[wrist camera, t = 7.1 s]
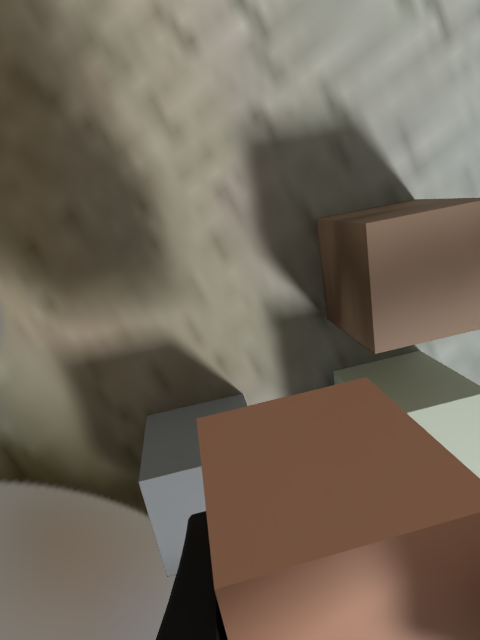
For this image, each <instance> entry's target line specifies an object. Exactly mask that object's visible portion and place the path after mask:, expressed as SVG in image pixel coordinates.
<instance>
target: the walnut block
mask: <svg viewBox="0 0 480 640" xmlns="http://www.w3.org/2000/svg"><path fill="white" fill-rule="evenodd" d="M316 221H317V230H318V239H319V248H320V257H321V266H322V275H323V284H324V293H325V302H326V311H327V319H328V320H330V321H331V322H332V323H334V324H335V325H337V326H338V327H339V328H341V329H342V330H343V331H345V332H346V333H347V334H349V335H350V336H351V337H353V338H354V339H356V340H357V341H358V342H360V343H361V344H362V345H364V346H365V347H366V348H368V349H369V350H371V351H372V352H373V353H375V354H377V353H382V352H386V351H390V350H394V349H398V348H402V347H407V346H411V345H415V344H419V343H423V342H428V341H432V340H436V339H440V338H444V337H448V336H453V335H457V334H461V333H465V332H469V331H474V330H478V329H480V198H457V199H418V200H410V201H405V202H400V203H395V204H390V205H385V206H380V207H375V208H370V209H364V210H359V211H354V212H349V213H344V214H339V215H334V216H329V217H324V218H319V219H316Z"/></svg>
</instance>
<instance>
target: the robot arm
mask: <svg viewBox="0 0 480 640" xmlns="http://www.w3.org/2000/svg"><path fill="white" fill-rule="evenodd" d="M156 640H228V638H227V635H226V631H225V627H224V623H223V620H222V616H221V612H220V609H219V605H218V601H217V597H216V594H215V590H214V581H213V571H212V562H211V552H210V543H209V533H208V524H207V514H206V511H203V512H200V513H196V514H192V515H191V516H190V517H189V519H188V524H187V531H186V536H185V541H184V546H183V551H182V555H181V559H180V563H179V567H178V571H177V574H176V578H175V581H174V585H173V588H172V592H171V596H170V599H169V602H168V605H167V608H166V611H165V614H164V617H163V620H162V623H161V626H160V629H159V632H158V635H157V638H156Z"/></svg>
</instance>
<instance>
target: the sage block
mask: <svg viewBox="0 0 480 640" xmlns="http://www.w3.org/2000/svg"><path fill="white" fill-rule="evenodd" d="M333 374H334V383H335V385H336V384H340V383H344V382H348V381H353V380H357V379H361V378H365V377H367V378H368V379H369V380H370V381H371V382H372V383H373V384H374V385H375V386H377V387H378V388H379V389H380V390H381V391H382V392H383V393H384V394H386V395H387V396H388V397H389V398H390V399H391V400H392V401H393V402H395V403H396V404H397V405H398V406H399V407H400V408H401V409H402V410H404V411H405V412H406V413H407V414H408V415H409V416H410V417H411V418H412V419H414V420H415V421H416V422H417V423H418V424H419V425H420V426H421V427H423V428H424V429H425V430H426V431H427V432H428V433H429V434H430V435H432V436H433V437H434V438H435V439H436V440H437V441H438V442H439V443H441V444H442V445H443V446H444V447H445V448H446V449H447V450H448V451H450V452H451V453H452V454H453V455H454V456H455V457H456V458H457V459H458V460H460V461H461V462H462V463H463V464H464V465H465V466H466V467H467V468H469V469H470V470H471V471H472V472H473V473H474V474H475V475H476V476H478V477H479V478H480V386H479V385H477V384H476V383H474V382H472V381H470V380H469V379H467V378H465V377H464V376H462V375H460V374H459V373H457V372H455V371H454V370H452V369H450V368H448V367H447V366H445V365H443V364H442V363H440V362H438V361H437V360H435V359H433V358H431V357H430V356H428V355H426V354H425V353H423V352H421V351H416V352H412V353H408V354H403V355H399V356H395V357H391V358H387V359H383V360H378V361H374V362H370V363H366V364H362V365H358V366H353V367H349V368H345V369H341V370H337V371H333Z"/></svg>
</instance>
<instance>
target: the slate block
mask: <svg viewBox="0 0 480 640" xmlns="http://www.w3.org/2000/svg"><path fill="white" fill-rule="evenodd" d="M246 406H247V404H246V401H245V398H244V396H243V394H239V395H235V396H230V397H226V398H222V399H217V400H213V401H208V402H204V403H200V404H195V405H191V406H187V407H182V408H178V409H174V410H169V411H165V412H161V413H156V414H152V415H148V416H147V418H146V426H145V434H144V442H143V450H142V458H141V466H140V474H139V485H140V489H141V492H142V495H143V498H144V502H145V505H146V508H147V512H148V515H149V518H150V522H151V525H152V528H153V531H154V534H155V538H156V542H157V545H158V548H159V551H160V555H161V558H162V561H163V565H164V568H165V571H166V575H167V577H169V576H172V575H176V574H177V571H178V567H179V563H180V559H181V555H182V551H183V546H184V541H185V536H186V531H187V524H188V519H189V517H190V516H191V515H192V514H196V513H200V512H203V511H206V505H205V495H204V486H203V476H202V467H201V457H200V448H199V438H198V429H197V418H201V417H205V416H209V415H214V414H218V413H222V412H226V411H230V410H234V409H238V408H242V407H246Z"/></svg>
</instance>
